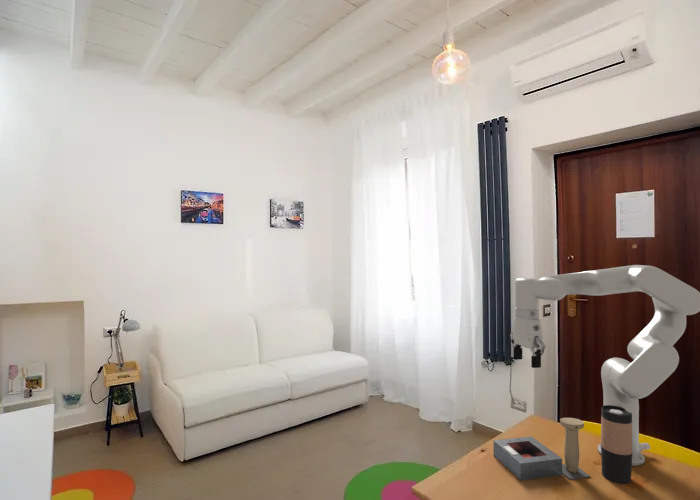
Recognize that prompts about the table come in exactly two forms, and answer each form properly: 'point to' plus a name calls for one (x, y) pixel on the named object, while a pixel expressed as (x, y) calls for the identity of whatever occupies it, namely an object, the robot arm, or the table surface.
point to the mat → (572, 475)
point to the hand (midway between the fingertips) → (526, 363)
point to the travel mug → (616, 444)
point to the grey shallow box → (531, 467)
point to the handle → (571, 442)
